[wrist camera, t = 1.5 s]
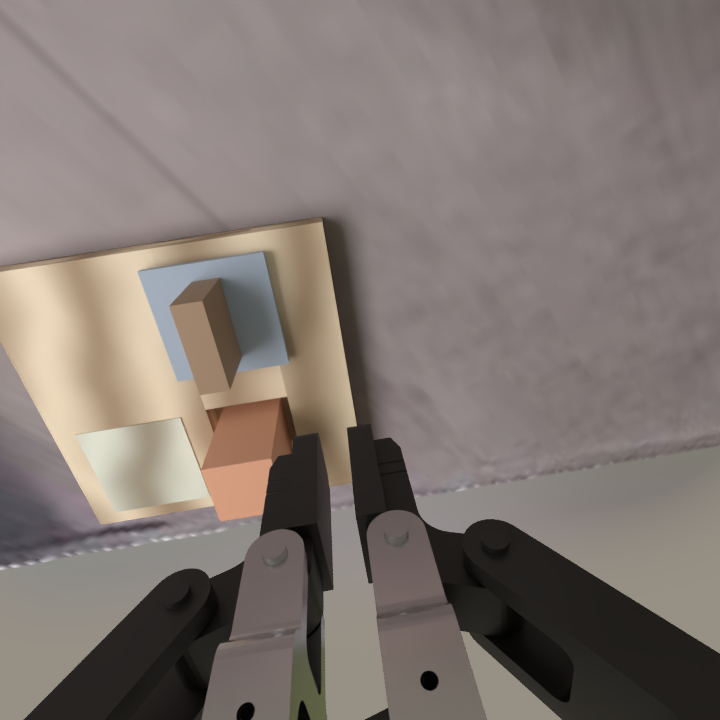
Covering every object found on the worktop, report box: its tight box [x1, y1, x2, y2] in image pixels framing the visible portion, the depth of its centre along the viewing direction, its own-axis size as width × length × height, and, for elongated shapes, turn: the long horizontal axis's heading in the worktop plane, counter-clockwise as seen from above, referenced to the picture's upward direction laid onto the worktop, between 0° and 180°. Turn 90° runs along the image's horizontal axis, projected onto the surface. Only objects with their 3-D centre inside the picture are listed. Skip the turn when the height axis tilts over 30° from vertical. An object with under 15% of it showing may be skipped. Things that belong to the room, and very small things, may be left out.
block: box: [201, 398, 292, 521], centre depth 29 cm, size 4×4×7 cm
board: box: [0, 217, 357, 524], centre depth 30 cm, size 20×19×2 cm
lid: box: [137, 251, 290, 395], centre depth 24 cm, size 7×7×5 cm
